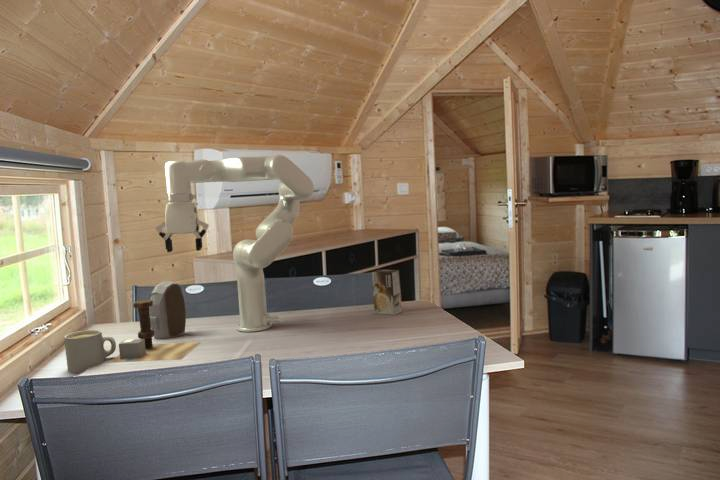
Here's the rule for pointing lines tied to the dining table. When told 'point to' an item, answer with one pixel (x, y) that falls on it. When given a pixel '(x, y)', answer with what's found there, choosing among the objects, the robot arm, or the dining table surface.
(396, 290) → the coffee box
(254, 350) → the dining table surface
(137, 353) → the grey block
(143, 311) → the bolt
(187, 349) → the yellow striped flat sheet
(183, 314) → the small grey backpack
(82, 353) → the coffee mug
